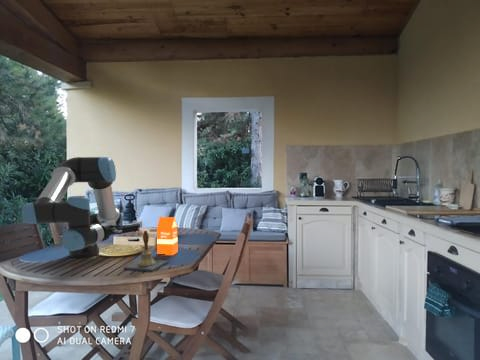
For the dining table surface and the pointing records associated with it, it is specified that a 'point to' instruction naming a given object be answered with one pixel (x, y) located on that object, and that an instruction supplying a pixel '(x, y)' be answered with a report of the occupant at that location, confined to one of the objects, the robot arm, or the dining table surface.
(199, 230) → the dining table surface
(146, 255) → the hand bell
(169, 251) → the orange juice
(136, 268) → the place mat
